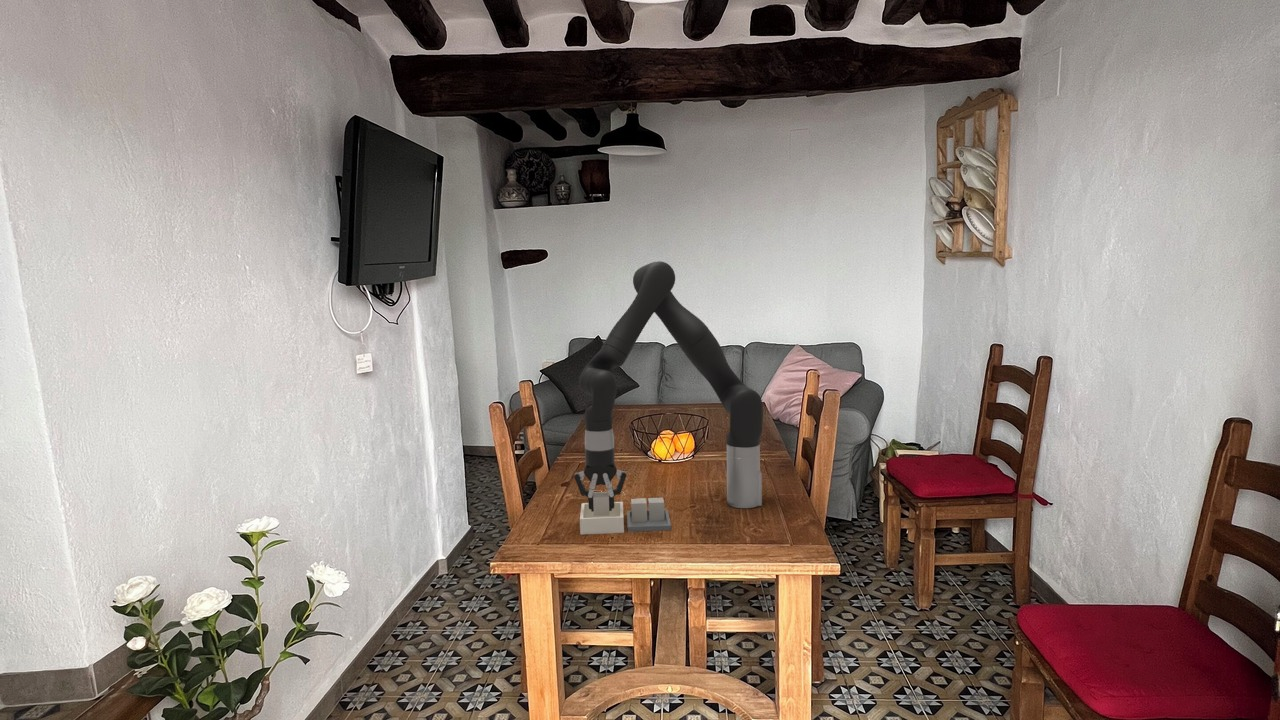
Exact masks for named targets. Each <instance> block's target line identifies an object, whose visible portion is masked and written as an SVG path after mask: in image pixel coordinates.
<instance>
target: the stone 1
mask: <svg viewBox="0 0 1280 720" xmlns="http://www.w3.org/2000/svg"><path fill="white" fill-rule="evenodd" d="M593 506H594V516H609V493H608V492H593Z"/></svg>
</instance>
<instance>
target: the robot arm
mask: <svg viewBox="0 0 1280 720" xmlns="http://www.w3.org/2000/svg"><path fill="white" fill-rule="evenodd" d="M675 284H676V274H675V271H674V269H673V267H672V266H671V265H670V264H669V263H667V262H664V261H659V260H658V261H653V262H650V263H647V264H645V265H643V266H640V267H639V268H637V269H636V271H634V274H633V277H632V285H633V288H634V290H635V292H636V295H635V297H634V299H633V301H632V303H631V304H630V306H629V307H628V309H626V311H625V312H624V314H623V315H622V316H621V317H620V318H619V319H618V321H616V323H615V325H614V326H613V328H612V329H611V331H610V332H609V333H608V336H607V337H606V339H605V340H604V343H603V344H602V346H601V348H600V350H599V351H597V353H596V354H595V355H594V356H593V357H592V358H591V359H590V361H589V362H588V363H587V364H586V365H585V366H584V368H583V369H582V371H581V373H580V375H579V378H578V385H579V389H580V390H581V391H582V393H584V394H586V395H588V396H592V401H591V405H589V406H587V407H586V409H585V412H584V425H585V426H584V427H585V428H584V429H585V431H584V457H585V460H584V461H585V463H584V464H585V467H584V469H583V470H581V471H575V472H574V480H575V482H576V485H577V487H578V490H579V493H580V495H581V496H583V497H587V500H588V502H587V503H589V509H591V512H594V506H593V494H594V491H595V488H596V486H600V485H601V486H605V487H606V489H607V491H608V493H609V511H612V509H614V502H615V497H616V496H617V495H618V496H619V495H621V494H622V493H621V492H623V491H622V490H623V488H624V484H625V481H626V479H627V478H626V477H627V470H624V469H623V470H619V469H617V467H616V464H615V461H616V460H615V435H614V431H613V429H614V428H613V426H614V425H613V424H614V423H613V410H614V407H615V401H616V397H617V391H618V385H617V380H616V377H615V375H614V374H613V373H612V371H613V370H614V369H616V368H619V367H622V366H623V365H624V364H625V362H626V360H627V359H628V357H629V355H630V354H631V351H632V350H633V348H634V346H635V344H636V343H637V340H638V338H639V337H640V335H641V333H642V332H643V329H644V328H645V327H646V325H647V323H648V322H649V320H650V319H651V318H652V316H653V314H655V315H656V316H657V317H658V319H659V320H660V322H662V324H663V325H664V326H665V328H666V330H667V331H668V333H669V334H670V336H672V338H673V339H674V341H675V342H676V344H678V346H679V348H680V349H681V351H682V352H683V353H684V355H685V356H686V358H687V359H688V360H689V361H690V362H691V363H692V365H693V367H694V368H695V369H696V370H697V371H698V372H699V373H700V375H701V376H703V378H704V379H705V380H707V382H708V383H709V384H710V386H711V388H712V389H713V391H714V393H715V394H716V396H717V398H718V399H719V401H720V403H721V405H722V407H723V409H724V410H725V412H727V414H728V415H729V431H728V432H727V433H726V439H725V441H726V443H725V444H726V445H725V446H726V503H727V505H729V507H732V508H737V509H752V508H757V507H761V506H763V496H762V495H763V477H762V476H763V474H762V471H761V463H760V462H761V437H762V434H763V420H764V419H763V417H764V416H763V414H764V412H763V411H764V408H763V407H764V406H763V399H762V398H761V395H760V394H759V392H757V391H755V390H754V389H752V388H750V387H748V386H747V385H746V384H745V383H744V382H742V380H741V379H740V378H739V377H738V376H737V374H735V372H734V370H733V369H732V368H731V366H730V365H729V362H728V361H727V358H726V355H725V353H724V351H723V349H722V346H721V344H720V343H719V342H718V340H717V338H716V337H715V336H714V334H713V333H712V331H711V330H710V329H709V327H708V326H707V325H706V324H705V323H704V322H703V321H702V319H700V318H699V317H698V316H696V315H695V314H694V313H693V312H691V311H690V310H688V308H686V307H684V306H683V304H682V303H680V301H679V300H678V299H677V298H676V296H675V295H674V294H673V292H672V290H673V288H674V286H675ZM584 476H585V477H586V478H587V479H588V480H589V482H590V484H589V488H588V489H586V487H585V484H584V482H583V480H584ZM615 476H617V479H618V483H617V485H616V487H615V488H613V484H612V480H613V479H614V477H615Z"/></svg>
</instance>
